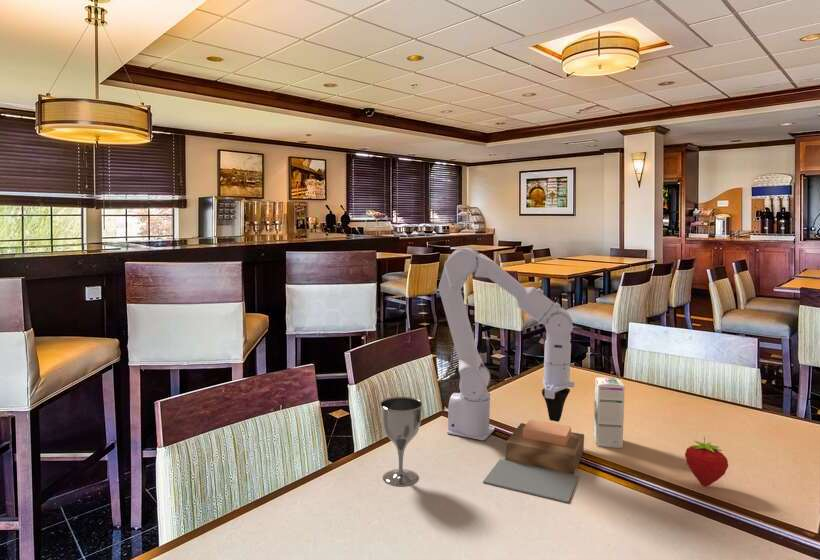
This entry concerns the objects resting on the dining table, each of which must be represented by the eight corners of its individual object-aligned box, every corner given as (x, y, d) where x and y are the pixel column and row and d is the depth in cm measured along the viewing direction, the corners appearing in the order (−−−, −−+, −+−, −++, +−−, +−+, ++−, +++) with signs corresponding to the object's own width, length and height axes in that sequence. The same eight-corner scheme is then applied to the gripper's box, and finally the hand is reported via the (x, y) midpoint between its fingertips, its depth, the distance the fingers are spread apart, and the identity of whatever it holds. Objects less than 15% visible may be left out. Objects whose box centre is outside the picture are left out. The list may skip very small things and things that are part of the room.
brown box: (505, 460, 111) (505, 442, 111) (520, 439, 122) (521, 423, 122) (573, 475, 105) (574, 455, 105) (583, 452, 116) (584, 434, 115)
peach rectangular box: (522, 437, 113) (523, 428, 113) (529, 427, 119) (529, 419, 119) (565, 445, 109) (566, 436, 109) (570, 435, 115) (571, 426, 115)
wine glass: (391, 491, 98) (391, 413, 97) (373, 473, 105) (374, 400, 104) (428, 481, 102) (429, 406, 100) (409, 465, 109) (410, 394, 107)
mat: (483, 482, 102) (483, 481, 102) (500, 460, 111) (500, 458, 111) (568, 503, 95) (568, 501, 95) (578, 477, 104) (578, 475, 104)
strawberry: (716, 499, 96) (720, 446, 95) (676, 482, 103) (679, 432, 102) (732, 490, 100) (736, 439, 99) (693, 474, 106) (696, 426, 105)
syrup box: (623, 448, 118) (626, 385, 116) (595, 446, 119) (598, 383, 117) (618, 438, 123) (621, 378, 122) (591, 436, 125) (594, 376, 123)
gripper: (569, 372, 111) (566, 434, 113) (580, 357, 124) (578, 413, 126) (536, 368, 115) (533, 428, 116) (550, 353, 127) (548, 408, 129)
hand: (554, 420), depth 121 cm, fingers closed
